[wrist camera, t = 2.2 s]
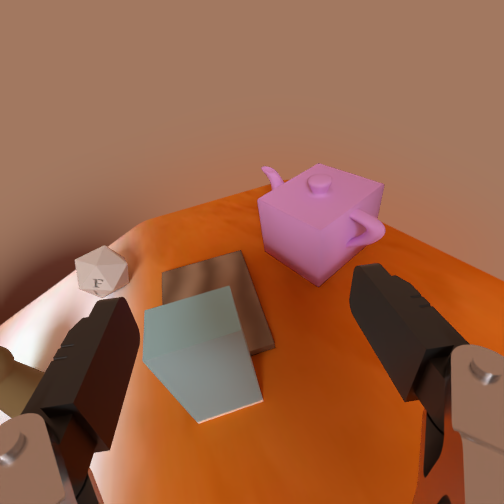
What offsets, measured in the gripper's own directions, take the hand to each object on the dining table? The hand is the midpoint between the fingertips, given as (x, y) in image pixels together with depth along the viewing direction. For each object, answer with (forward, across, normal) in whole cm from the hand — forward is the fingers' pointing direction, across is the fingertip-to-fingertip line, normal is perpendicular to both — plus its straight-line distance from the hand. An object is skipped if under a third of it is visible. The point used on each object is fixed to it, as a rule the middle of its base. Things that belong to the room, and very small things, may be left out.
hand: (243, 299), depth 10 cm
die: (+35, +23, +24) cm, 49 cm away
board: (+26, +5, +24) cm, 36 cm away
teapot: (+36, -15, +21) cm, 44 cm away
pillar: (+13, +3, +26) cm, 29 cm away
